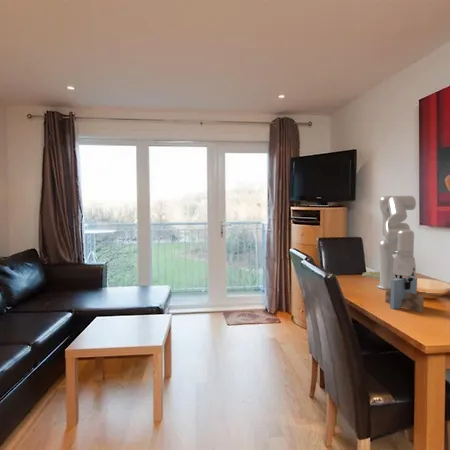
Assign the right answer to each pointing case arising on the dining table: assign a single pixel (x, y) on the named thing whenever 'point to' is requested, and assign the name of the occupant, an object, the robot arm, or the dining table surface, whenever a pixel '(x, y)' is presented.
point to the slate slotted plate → (400, 291)
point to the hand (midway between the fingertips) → (403, 288)
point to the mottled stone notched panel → (408, 301)
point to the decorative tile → (372, 275)
